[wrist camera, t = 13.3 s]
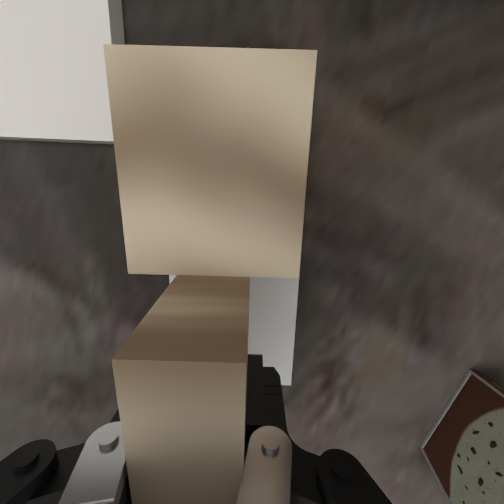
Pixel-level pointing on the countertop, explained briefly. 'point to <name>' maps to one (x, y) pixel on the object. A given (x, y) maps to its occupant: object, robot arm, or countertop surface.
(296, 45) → the countertop surface
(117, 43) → the tile
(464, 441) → the food container
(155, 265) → the turner
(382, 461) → the countertop surface
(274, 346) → the mat
